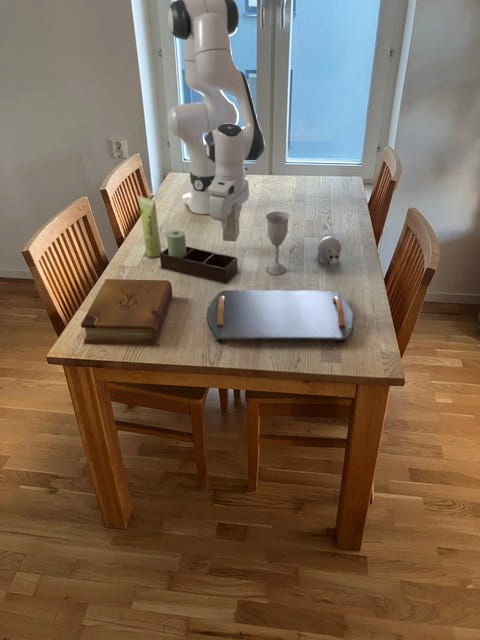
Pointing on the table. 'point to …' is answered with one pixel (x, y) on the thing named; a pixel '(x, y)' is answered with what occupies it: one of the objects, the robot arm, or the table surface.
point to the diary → (128, 312)
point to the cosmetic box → (232, 225)
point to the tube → (150, 226)
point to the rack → (201, 264)
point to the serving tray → (280, 315)
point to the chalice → (277, 236)
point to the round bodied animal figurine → (329, 251)
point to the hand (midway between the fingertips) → (230, 222)
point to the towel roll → (176, 243)
